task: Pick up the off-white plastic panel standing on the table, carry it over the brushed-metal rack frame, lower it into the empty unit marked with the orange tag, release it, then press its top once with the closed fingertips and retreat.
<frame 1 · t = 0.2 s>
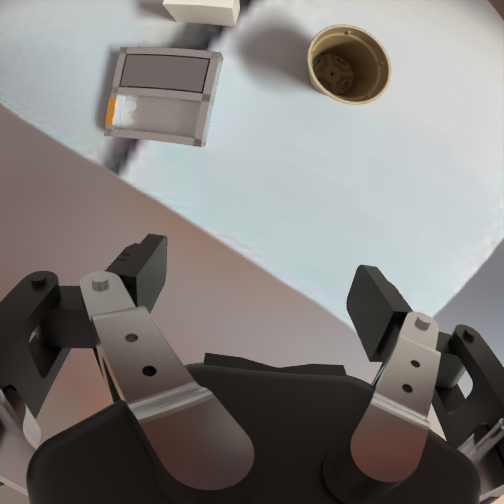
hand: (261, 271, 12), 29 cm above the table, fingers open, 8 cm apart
rack: (165, 95, 34), on the table
panel: (207, 14, 30), on the table
flower pot: (330, 75, 33), on the table
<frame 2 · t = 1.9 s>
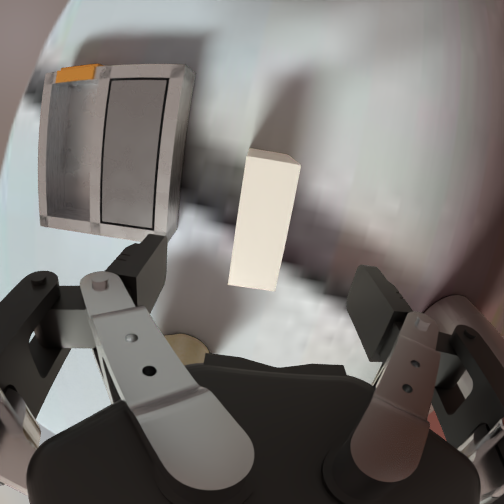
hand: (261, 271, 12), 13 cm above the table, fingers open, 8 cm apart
rack: (116, 147, 22), on the table
panel: (260, 200, 24), on the table
flower pot: (182, 352, 31), on the table
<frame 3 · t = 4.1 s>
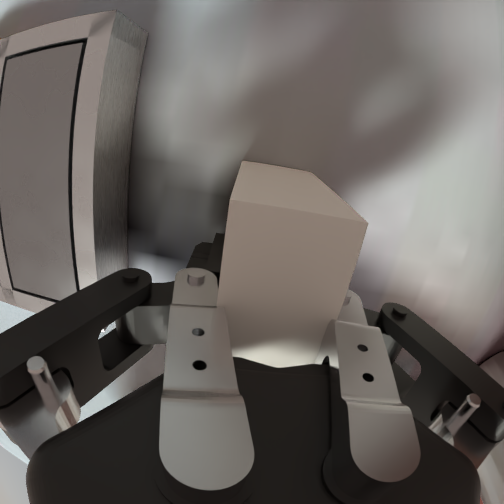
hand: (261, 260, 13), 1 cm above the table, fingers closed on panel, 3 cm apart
rack: (33, 165, 12), on the table
panel: (261, 250, 14), on the table, touching gripper
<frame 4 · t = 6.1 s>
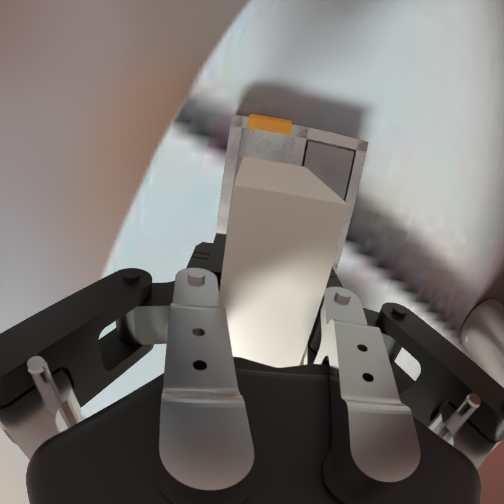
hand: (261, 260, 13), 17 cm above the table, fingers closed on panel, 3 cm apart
rack: (285, 190, 29), on the table
panel: (260, 238, 15), point 15 cm above the table, touching gripper
when the fingers open (4 cm above the table, at t = 8.3 s): panel drops 1 cm, resting on rack.
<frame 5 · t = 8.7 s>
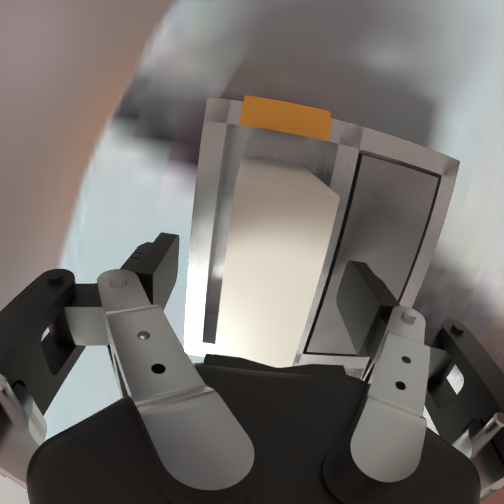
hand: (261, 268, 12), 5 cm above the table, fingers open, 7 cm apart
rack: (308, 237, 17), on the table
panel: (260, 233, 16), resting on rack
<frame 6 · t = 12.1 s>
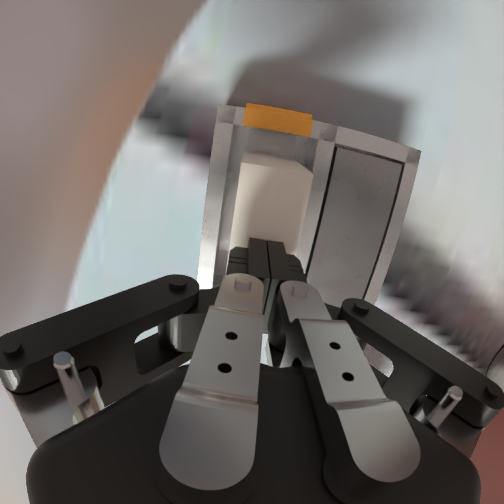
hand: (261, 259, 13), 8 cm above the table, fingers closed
rack: (298, 216, 21), on the table
panel: (258, 212, 20), resting on rack
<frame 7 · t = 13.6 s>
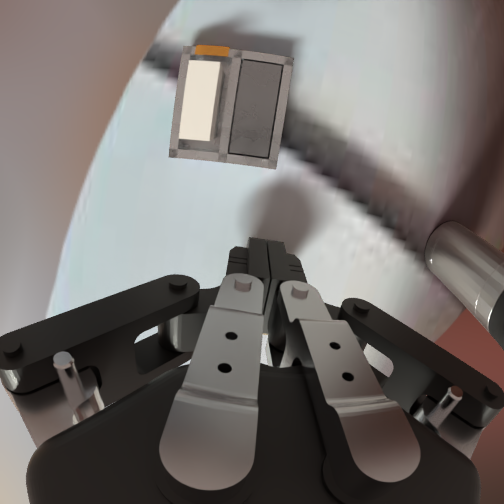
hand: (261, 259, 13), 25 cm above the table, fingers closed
rack: (231, 106, 32), on the table
panel: (207, 103, 32), resting on rack
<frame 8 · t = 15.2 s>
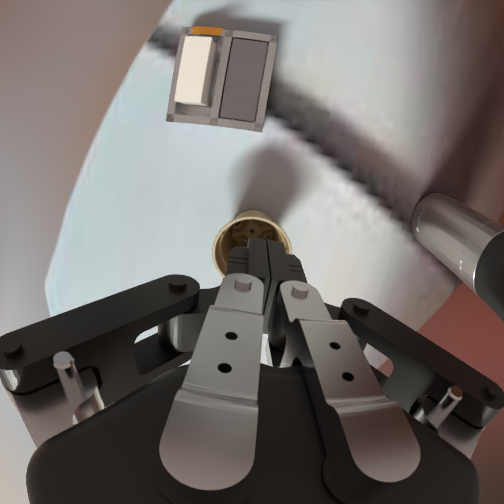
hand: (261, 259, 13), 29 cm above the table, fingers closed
rack: (223, 79, 35), on the table
panel: (202, 77, 34), resting on rack
flower pot: (251, 229, 44), on the table
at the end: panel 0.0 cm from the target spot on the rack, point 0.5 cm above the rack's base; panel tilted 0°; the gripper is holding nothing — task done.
